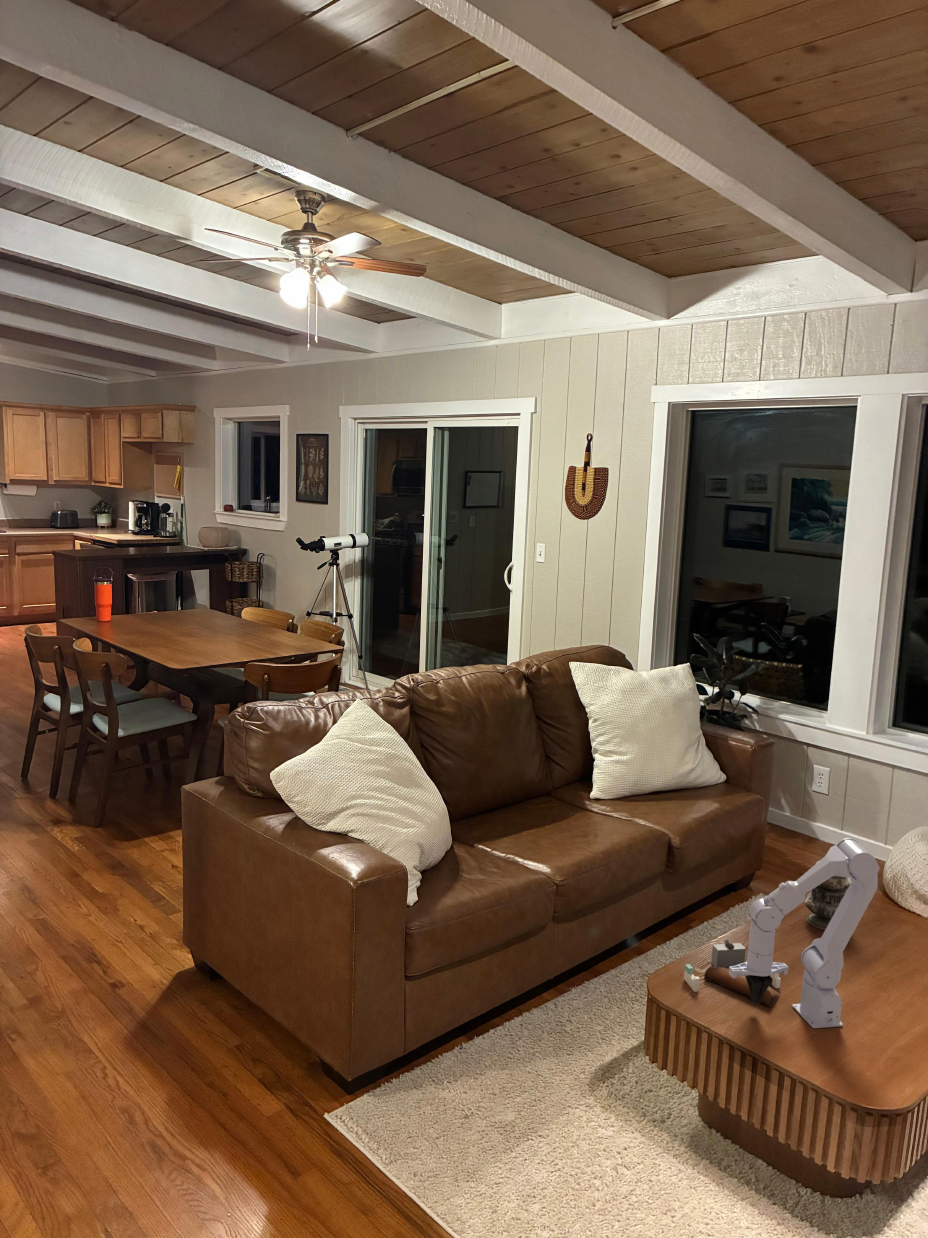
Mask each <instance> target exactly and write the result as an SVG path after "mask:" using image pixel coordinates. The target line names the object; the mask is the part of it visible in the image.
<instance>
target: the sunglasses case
mask: <svg viewBox="0 0 928 1238" xmlns="http://www.w3.org/2000/svg"><path fill="white" fill-rule="evenodd" d="M703 979H705V980H707V981H710V982H712V983H716V984H718V985H721V986H723V987H726V988H729V989H731V990H734V991H735V992H738V993H740V994H743V995H745V996H747V997H749V998H751V996H750V990H749V986H748V983H747V980H746V977H745V976H737V977H736V978H732V977H731V976H730V974H729V968H728V967H724V968H721V967H715V966H710V967H707V969H706V970H705V972H704V975H703ZM781 997H782V994H780V993H779V992H778V991H777V990H775V989H773V988H772V987H770V986H769V987H768V988H767V990H766V991H765V993H764V995H763V997H762V1000H761V1002H760V1003H762V1004H764V1005H766V1006H769V1007H770V1008H772V1007H773V1005H775V1003H777V1002H778V1000H779V999H780V998H781Z"/></svg>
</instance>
